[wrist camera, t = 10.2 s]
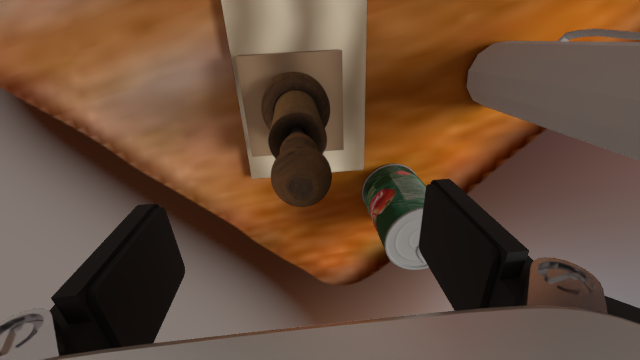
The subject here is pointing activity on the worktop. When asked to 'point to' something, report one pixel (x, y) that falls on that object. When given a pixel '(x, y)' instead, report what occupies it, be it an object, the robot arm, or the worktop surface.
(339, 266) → the worktop surface
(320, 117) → the brown wooden pepper mill
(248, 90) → the walnut base block
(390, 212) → the canned tomato
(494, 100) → the water bottle
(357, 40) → the birch board
